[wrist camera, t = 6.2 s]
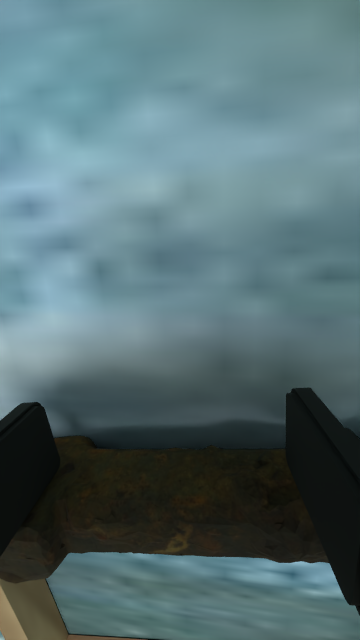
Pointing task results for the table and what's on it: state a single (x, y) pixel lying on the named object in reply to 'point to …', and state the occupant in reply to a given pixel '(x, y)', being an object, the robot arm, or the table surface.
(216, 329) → the table surface
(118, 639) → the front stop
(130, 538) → the dark brown log
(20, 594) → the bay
